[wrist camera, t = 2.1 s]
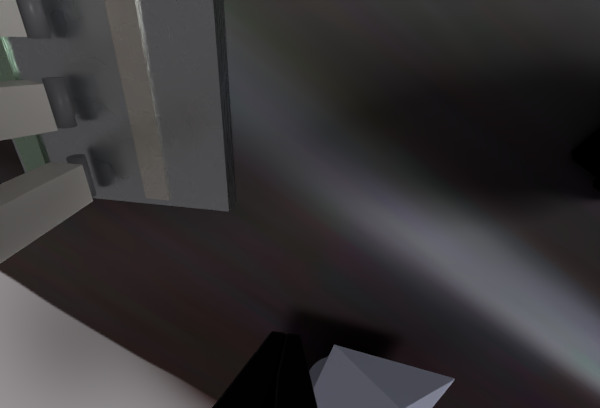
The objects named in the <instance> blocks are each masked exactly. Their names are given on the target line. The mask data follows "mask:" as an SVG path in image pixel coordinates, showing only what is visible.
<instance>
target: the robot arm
mask: <svg viewBox="0 0 600 408" xmlns="http://www.w3.org/2000/svg"><path fill="white" fill-rule="evenodd" d="M585 152H587V155H586V156H585V157H583V158H581V156H582V155H583V153H585ZM572 159H573V160H574V161H575V162H576V163H577V164H579V165H580V166H581V167H583V168H584V169H585V170H587V171H588V172H589V173H591V174H592V175H593V176H594V177H596V178H597V179H596V180H594V181H593V187H594V188H595V189H597V190H598V191H599V192H600V128H599V129H598V130H597V131H596V132H594V133H593V134H592V135H591V136H590V137H589V138H587V139H586V140H585V141H584V142H583V143H582V144H580V145H579V146H578V147H577V148H576V149H575V150H574V151H573V153H572ZM212 408H318V407H317V403H316V398H315V394H314V390H313V386H312V382H311V377H310V373H309V369H308V365H307V360H306V356H305V352H304V348H303V343H302V339H301V336H300V335H297V334H290V333H288V334H285V333H283V332H275V331H273V332H271V333H270V334H269V335H268V337H267V338H266V339H265V340H264V342H263V343H262V344H261V346H260V347H259V348H258V349H257V351H256V352H255V353H254V355H253V356H252V357H251V358H250V360H249V361H248V362H247V364H246V365H245V366H244V367H243V369H242V370H241V371H240V373H239V374H238V375H237V376H236V378H235V379H234V380H233V382H232V383H231V384H230V385H229V387H228V388H227V389H226V391H225V392H224V393H223V394H222V396H221V397H220V398H219V400H218V401H217V402H216V404H215V405H214V406H213V407H212Z"/></svg>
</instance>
